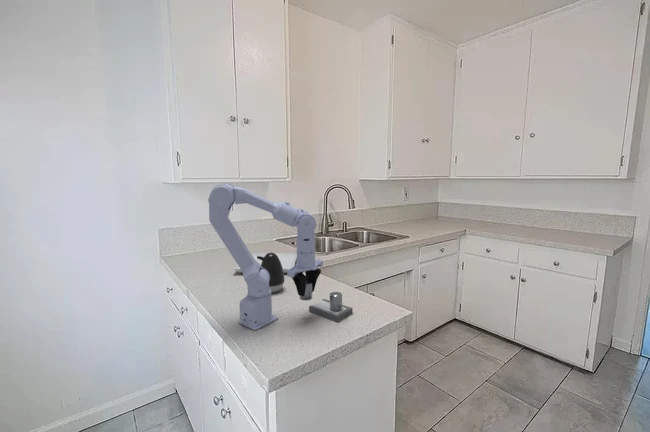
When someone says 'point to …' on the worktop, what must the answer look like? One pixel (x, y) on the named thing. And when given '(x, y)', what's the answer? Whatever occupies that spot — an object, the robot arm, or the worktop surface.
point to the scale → (329, 311)
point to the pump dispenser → (273, 271)
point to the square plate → (285, 259)
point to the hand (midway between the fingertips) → (306, 293)
